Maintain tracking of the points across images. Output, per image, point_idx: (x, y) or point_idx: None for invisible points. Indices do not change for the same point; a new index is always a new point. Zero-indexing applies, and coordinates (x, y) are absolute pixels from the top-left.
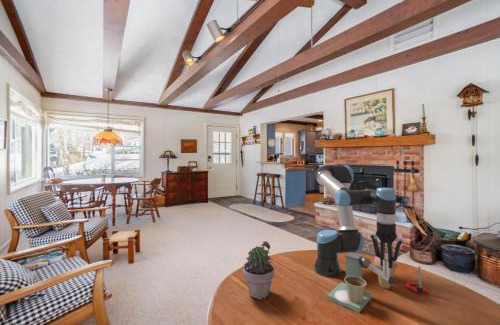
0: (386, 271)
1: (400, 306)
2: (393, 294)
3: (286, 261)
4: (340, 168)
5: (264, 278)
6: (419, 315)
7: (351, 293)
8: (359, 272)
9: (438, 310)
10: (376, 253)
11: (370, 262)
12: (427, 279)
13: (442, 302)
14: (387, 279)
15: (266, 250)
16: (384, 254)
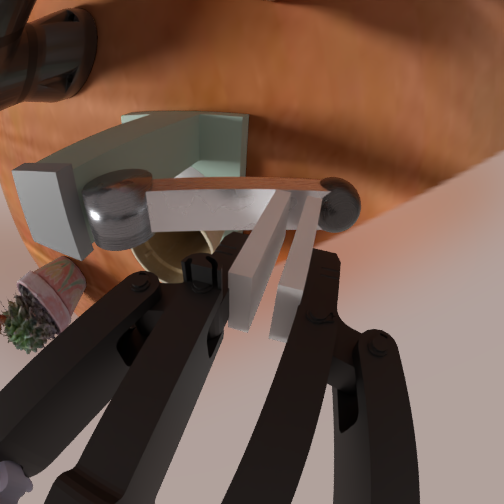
0: (288, 199)
1: (369, 120)
2: (327, 29)
3: (6, 112)
4: None
5: (66, 326)
6: (433, 156)
7: (189, 252)
8: None
9: (492, 89)
10: (134, 346)
11: (139, 200)
12: None
13: (498, 25)
14: None
15: (15, 334)
16: (206, 331)
